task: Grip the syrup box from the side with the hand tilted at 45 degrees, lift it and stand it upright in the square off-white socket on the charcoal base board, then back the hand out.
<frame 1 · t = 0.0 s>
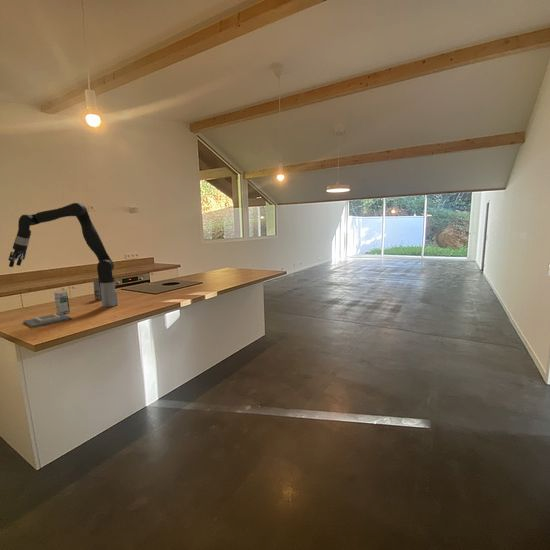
hand: (14, 266, 219), 31 cm above the table, tool tilted 20°, fingers open, 8 cm apart
syrup box: (63, 313, 216), on the table
coffee box: (102, 298, 259), on the table
base board: (47, 321, 197), on the table
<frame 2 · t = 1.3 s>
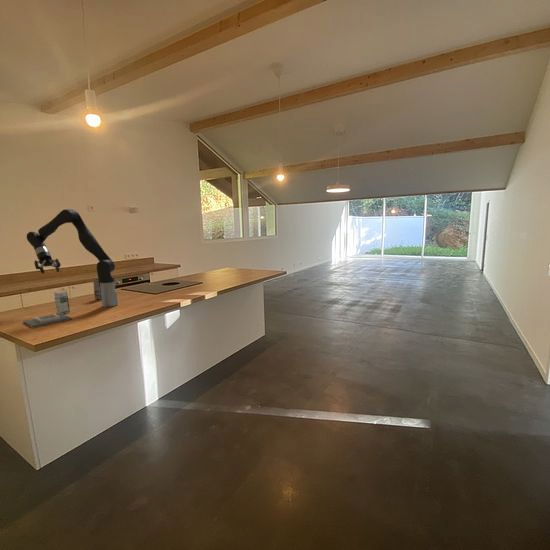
hand: (51, 272, 220), 27 cm above the table, tool tilted 45°, fingers open, 8 cm apart
nothing on the table moved.
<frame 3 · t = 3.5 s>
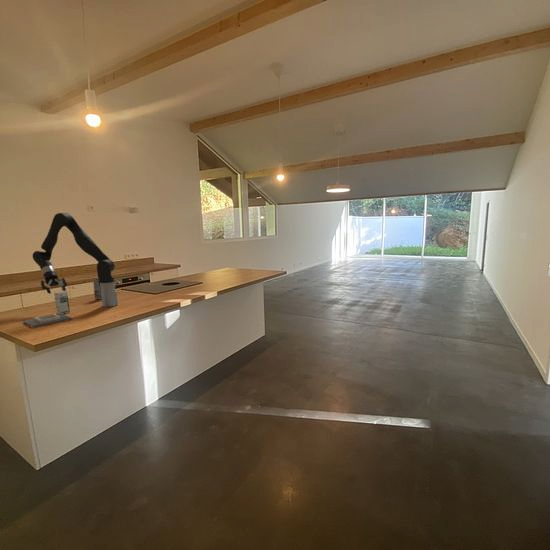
hand: (57, 291, 218), 14 cm above the table, tool tilted 45°, fingers open, 8 cm apart
nothing on the table moved.
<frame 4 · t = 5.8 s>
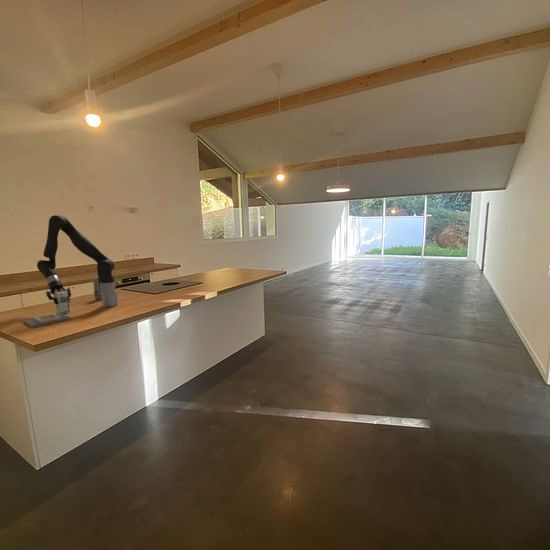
hand: (63, 302, 214), 7 cm above the table, tool tilted 45°, fingers closed on syrup box, 6 cm apart
syrup box: (63, 313, 216), on the table, touching gripper
everything else where it was.
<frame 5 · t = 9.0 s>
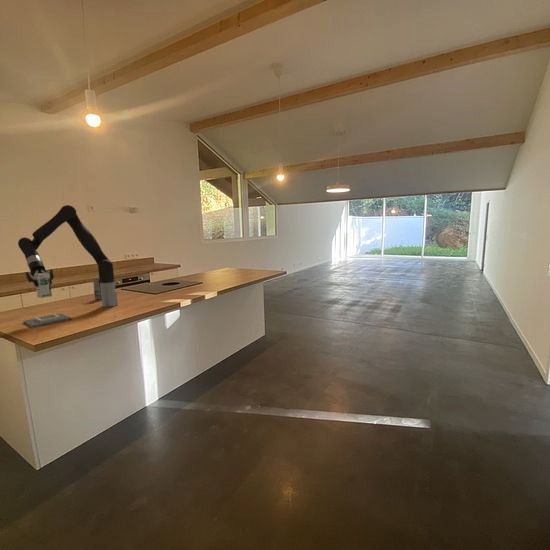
hand: (44, 285, 194), 22 cm above the table, tool tilted 45°, fingers closed on syrup box, 6 cm apart
syrup box: (44, 297, 196), point 15 cm above the table, touching gripper
everything else where it was.
when the fingers open (10 cm above the table, at t = 12.0 s): syrup box drops 2 cm, resting on base board.
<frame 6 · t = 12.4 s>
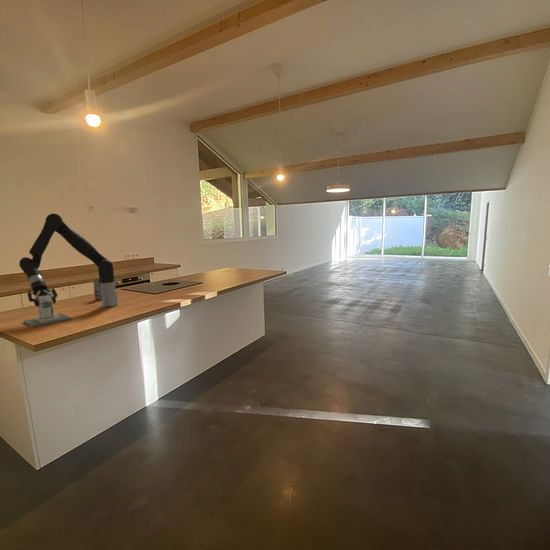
hand: (46, 304, 195), 11 cm above the table, tool tilted 45°, fingers open, 8 cm apart
syrup box: (46, 319, 197), point 1 cm above the table, touching base board
everything else where it was.
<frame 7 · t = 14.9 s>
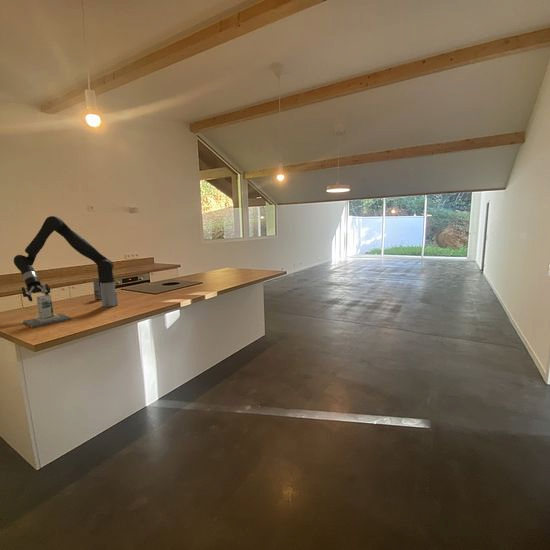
hand: (39, 299, 203), 12 cm above the table, tool tilted 45°, fingers open, 8 cm apart
nothing on the table moved.
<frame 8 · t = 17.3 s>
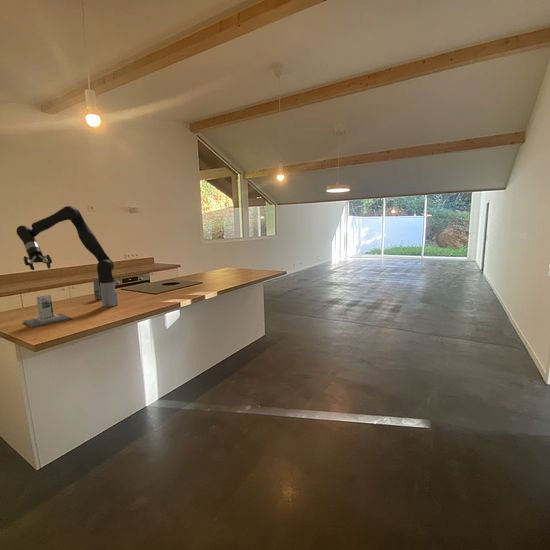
hand: (41, 268, 207), 31 cm above the table, tool tilted 45°, fingers open, 8 cm apart
nothing on the table moved.
at the end: syrup box 0.5 cm off-centre on the base board, point 1.0 cm above the base board's base; syrup box tilted 0°; the gripper is holding nothing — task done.
